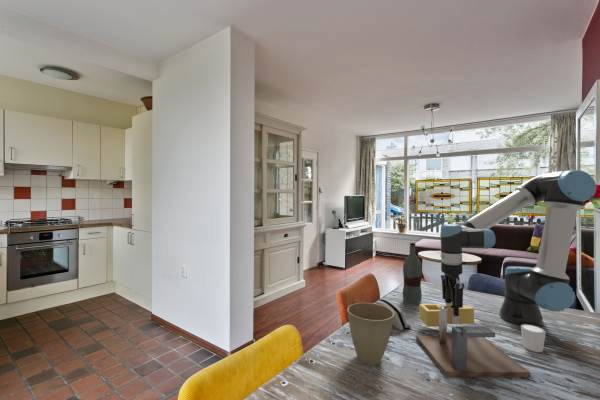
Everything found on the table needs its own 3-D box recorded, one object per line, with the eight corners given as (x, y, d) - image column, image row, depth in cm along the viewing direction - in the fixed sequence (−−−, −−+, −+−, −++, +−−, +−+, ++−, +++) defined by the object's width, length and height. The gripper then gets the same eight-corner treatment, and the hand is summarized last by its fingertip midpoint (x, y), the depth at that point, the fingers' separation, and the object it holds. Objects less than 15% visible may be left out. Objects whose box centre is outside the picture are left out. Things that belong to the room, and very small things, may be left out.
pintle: (444, 345, 104) (445, 306, 104) (448, 348, 101) (448, 309, 101) (437, 345, 104) (438, 306, 104) (441, 348, 101) (441, 309, 101)
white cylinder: (539, 354, 98) (539, 334, 98) (516, 345, 104) (516, 326, 104) (549, 350, 101) (549, 330, 101) (526, 341, 107) (526, 322, 107)
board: (483, 340, 108) (483, 336, 108) (529, 377, 86) (529, 372, 86) (416, 339, 108) (416, 335, 108) (445, 376, 86) (445, 371, 86)
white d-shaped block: (411, 329, 116) (404, 306, 115) (402, 334, 115) (395, 311, 114) (387, 312, 132) (381, 293, 131) (379, 317, 131) (372, 297, 130)
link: (466, 317, 119) (466, 303, 119) (477, 326, 112) (477, 310, 112) (419, 318, 119) (419, 304, 119) (427, 326, 112) (427, 311, 112)
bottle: (399, 298, 151) (399, 241, 150) (415, 298, 152) (416, 241, 151) (407, 305, 141) (408, 244, 141) (425, 305, 142) (426, 244, 142)
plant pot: (386, 378, 84) (386, 324, 84) (339, 362, 92) (340, 313, 92) (398, 355, 97) (398, 308, 97) (356, 342, 105) (356, 299, 105)
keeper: (485, 369, 89) (486, 326, 89) (494, 377, 85) (495, 332, 85) (450, 369, 89) (451, 326, 89) (457, 377, 85) (458, 332, 85)
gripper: (432, 258, 123) (433, 313, 124) (452, 268, 107) (454, 330, 107) (450, 258, 123) (451, 312, 124) (473, 267, 107) (474, 330, 107)
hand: (452, 321), depth 115 cm, fingers closed on link, 3 cm apart
